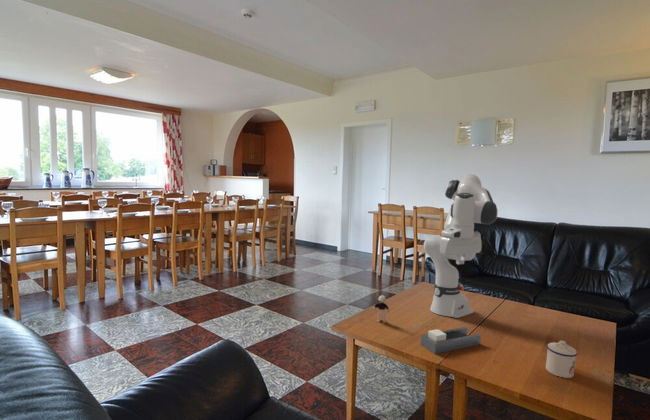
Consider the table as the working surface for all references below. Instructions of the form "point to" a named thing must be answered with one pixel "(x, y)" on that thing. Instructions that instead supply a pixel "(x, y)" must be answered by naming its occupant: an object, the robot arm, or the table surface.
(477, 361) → the table surface
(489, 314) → the table surface
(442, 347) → the chute
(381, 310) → the grandmother figurine
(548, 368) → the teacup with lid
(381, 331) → the table surface
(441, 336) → the block
